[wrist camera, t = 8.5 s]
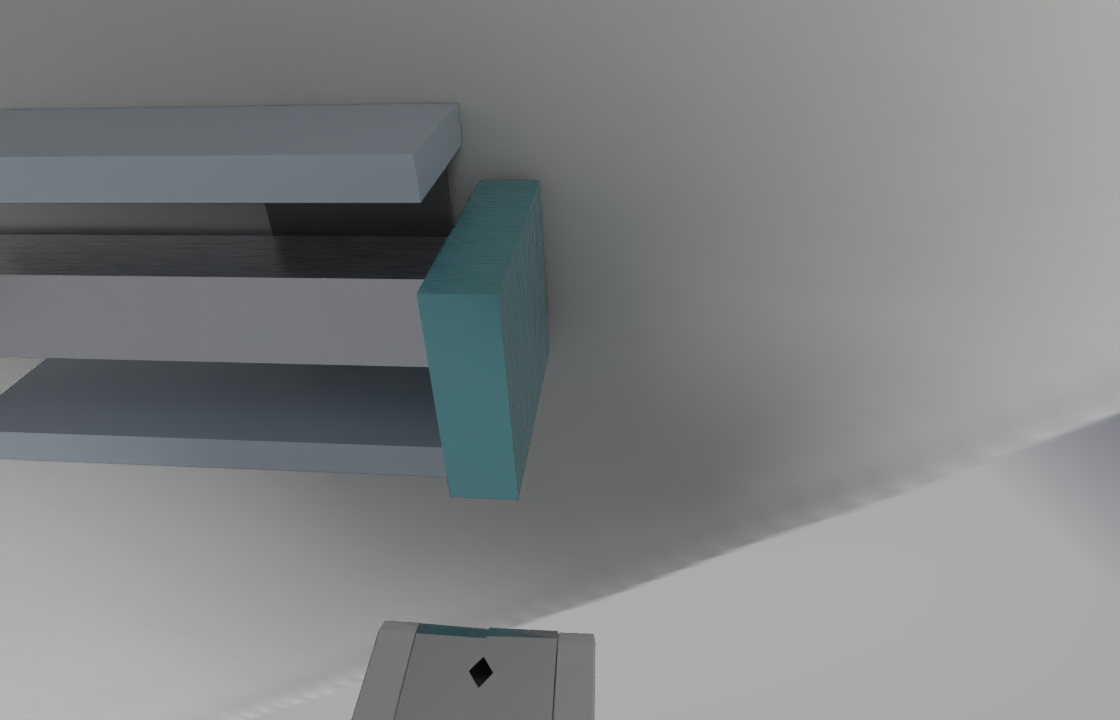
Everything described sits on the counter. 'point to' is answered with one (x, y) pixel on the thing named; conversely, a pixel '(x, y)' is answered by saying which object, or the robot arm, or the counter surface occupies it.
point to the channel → (294, 210)
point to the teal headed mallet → (317, 313)
